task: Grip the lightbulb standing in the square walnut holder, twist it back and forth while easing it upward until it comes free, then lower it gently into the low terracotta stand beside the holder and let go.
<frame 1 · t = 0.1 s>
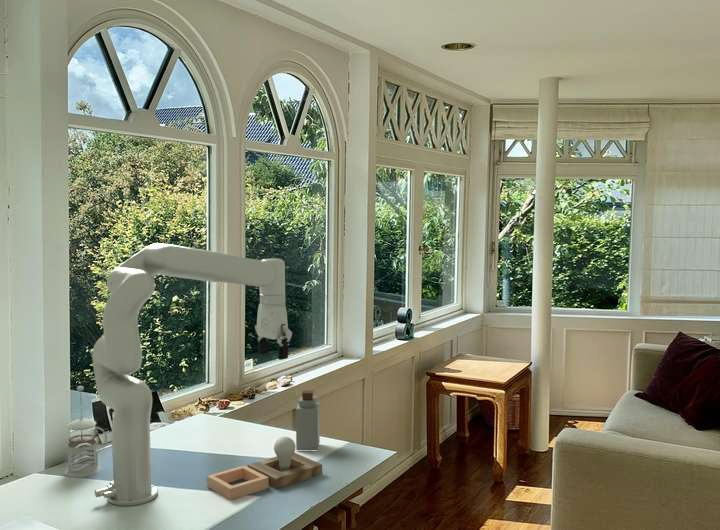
hand: (273, 356, 217), 31 cm above the table, tool pointing down, fingers open, 9 cm apart
french press: (86, 471, 209), on the table
terracotta stand: (237, 487, 197), on the table
lightbulb: (285, 475, 206), resting in walnut holder
walnut holder: (284, 474, 206), on the table
perfume bottle: (308, 448, 229), on the table
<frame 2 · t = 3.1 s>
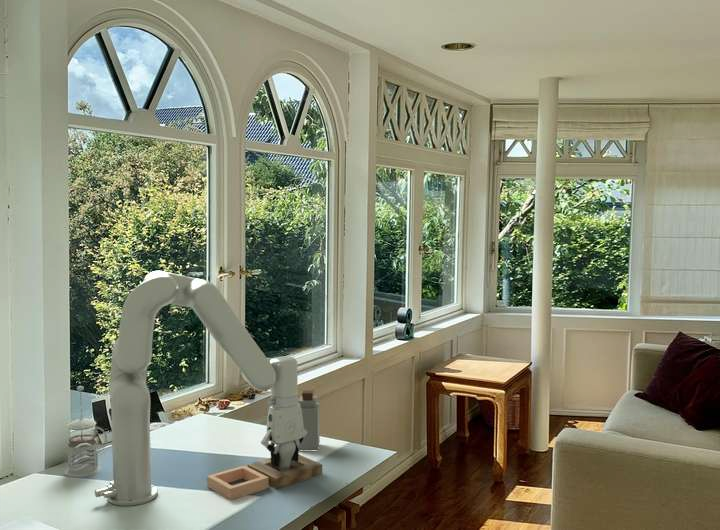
hand: (284, 462, 206), 4 cm above the table, tool pointing down, fingers closed on lightbulb, 5 cm apart
lightbulb: (285, 475, 206), resting in walnut holder, touching gripper
everything else where it was.
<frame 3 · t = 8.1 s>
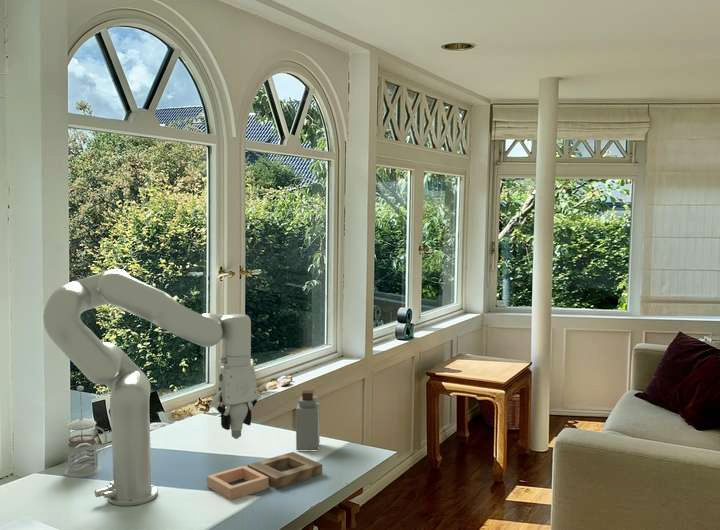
hand: (236, 425, 195), 17 cm above the table, tool pointing down, fingers closed on lightbulb, 5 cm apart
lightbulb: (236, 439, 196), point 13 cm above the table, touching gripper
everything else where it was.
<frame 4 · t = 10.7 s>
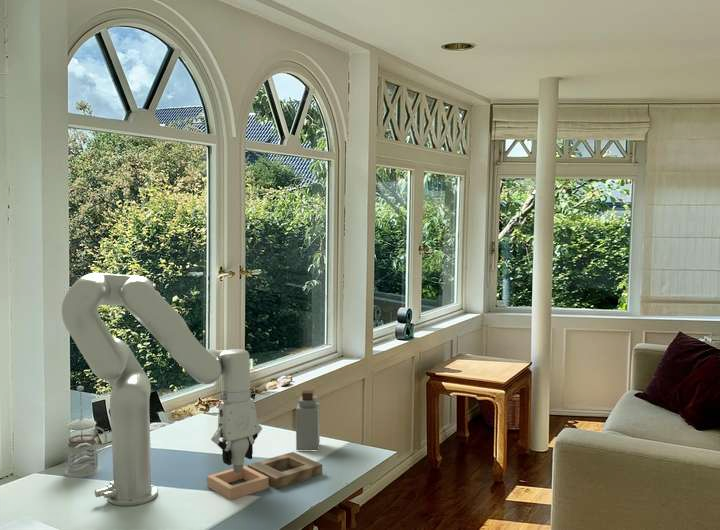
hand: (237, 460, 196), 8 cm above the table, tool pointing down, fingers closed on lightbulb, 5 cm apart
lightbulb: (238, 473, 196), point 4 cm above the table, touching gripper
everything else where it was.
when the fingers open (4 cm above the table, at t = 12.9 s): lightbulb stays where it is, resting in terracotta stand.
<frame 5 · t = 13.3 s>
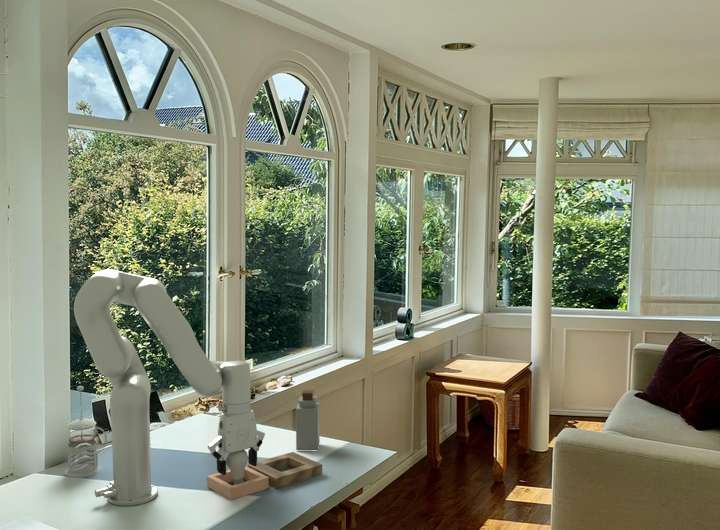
hand: (237, 469, 196), 5 cm above the table, tool pointing down, fingers open, 9 cm apart
lightbulb: (238, 487, 197), resting in terracotta stand
everything else where it was.
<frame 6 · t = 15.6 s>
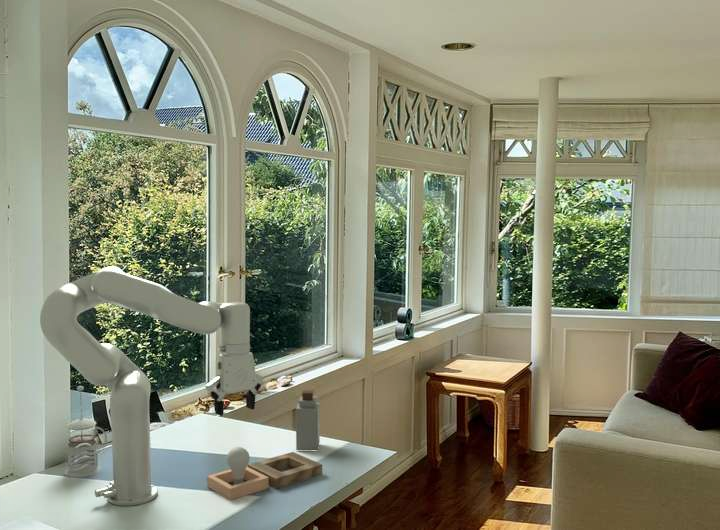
hand: (235, 411, 195), 21 cm above the table, tool pointing down, fingers open, 9 cm apart
nothing on the table moved.
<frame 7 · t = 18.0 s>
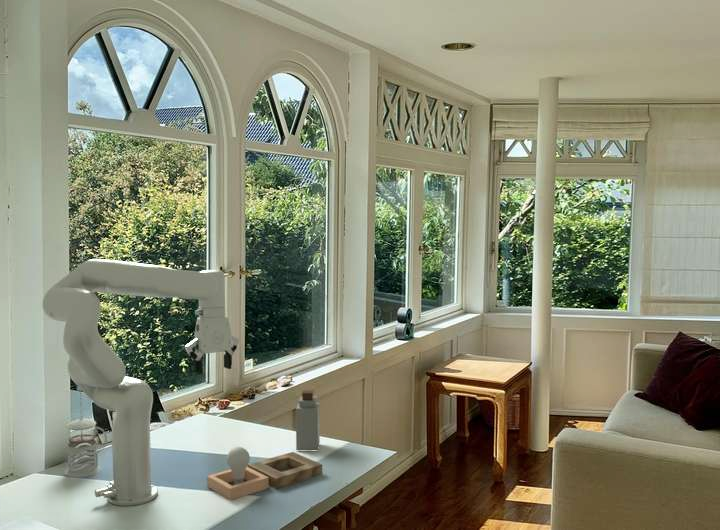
hand: (213, 370, 211), 28 cm above the table, tool pointing down, fingers open, 9 cm apart
nothing on the table moved.
at the end: lightbulb 0.4 cm off-centre on the terracotta stand, point 0.0 cm above the terracotta stand's base; lightbulb tilted 0°; the gripper is holding nothing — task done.
